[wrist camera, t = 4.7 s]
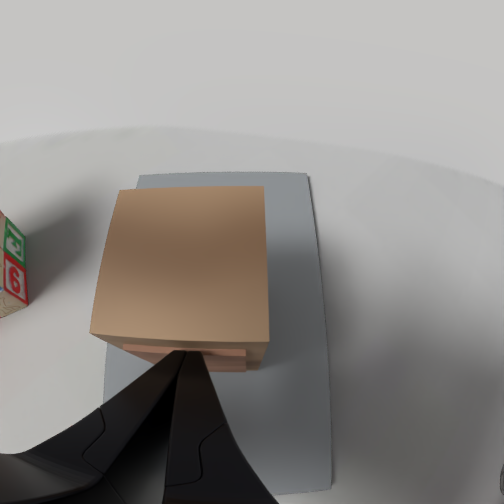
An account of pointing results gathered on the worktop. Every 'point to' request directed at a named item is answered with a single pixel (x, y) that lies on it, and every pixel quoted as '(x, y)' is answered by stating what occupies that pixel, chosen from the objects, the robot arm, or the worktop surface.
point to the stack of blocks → (12, 268)
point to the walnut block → (186, 275)
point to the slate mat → (271, 344)
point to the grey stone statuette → (502, 481)
